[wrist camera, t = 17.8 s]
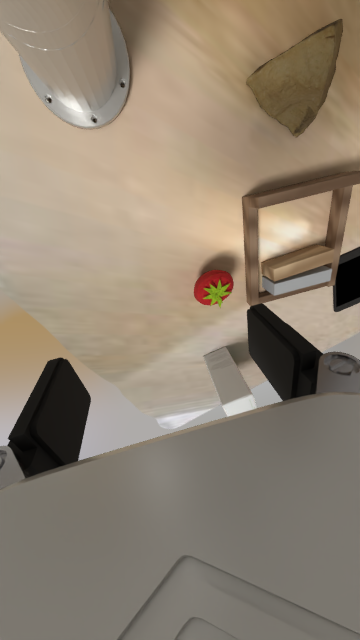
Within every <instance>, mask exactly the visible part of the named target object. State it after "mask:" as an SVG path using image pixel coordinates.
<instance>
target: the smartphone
mask: <svg viewBox="0 0 360 640" xmlns="http://www.w3.org/2000/svg"><path fill="white" fill-rule="evenodd" d="M359 302H360V247H358V248H356V249H354V250H352V251H349V252H347V253H345V254H343V255H340V258H339V263H338V269H337V274H336V280H335V285H333V304H334V311H335V312H339V311H341V310H344V309H346V308H348V307H351V306H353V305H355V304H358V303H359Z"/></svg>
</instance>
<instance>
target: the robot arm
mask: <svg viewBox="0 0 360 640" xmlns="http://www.w3.org/2000/svg"><path fill="white" fill-rule="evenodd" d="M0 32H1V33H2V34H3V35H4V36H5V38H6V39H7V40H8V41H9V42H10V44H11V45H12V46H13V47H14V48H15V50H16V51H17V52H18V53H19V57H20V60H21V63H22V66H23V69H24V72H25V74H26V76H27V78H28V80H29V82H30V84H31V86H32V88H33V89H34V91H35V92H36V94H37V95H38V97H39V98H40V99H41V100H42V102H43V103H44V104H45V105H46V106H47V107H48V108H49V109H50V110H51V111H52V112H53V113H54V114H55V115H56V116H58V117H59V118H60V119H61V120H63V121H65V122H66V123H68V124H70V125H72V126H75V127H78V128H81V129H97V128H101V127H103V126H106V125H108V124H109V123H110V122H112V121H113V120H114V119H115V118H116V117H117V116H118V114H119V113H120V112H121V110H122V108H123V106H124V104H125V102H126V98H127V95H128V90H129V82H130V67H129V56H128V52H127V47H126V43H125V40H124V37H123V34H122V31H121V28H120V26H119V24H118V22H117V20H116V18H115V16H114V14H113V13H112V11H111V10H110V8H109V6H108V0H0ZM121 84H124V85H125V87H124V88H122V87H121ZM49 99H52V103H49ZM94 119H97V123H94V122H93V120H94ZM247 323H248V344H249V353H250V355H251V357H252V358H253V360H254V361H255V362H256V364H257V365H258V367H259V368H260V369H261V371H262V372H263V374H264V375H265V376H266V378H267V379H268V381H269V382H270V383H271V385H272V386H273V388H274V389H275V390H276V392H277V393H278V395H279V396H280V397H281V399H282V400H283V401H282V402H278V403H275V404H271V405H267V406H264V407H260V408H256V409H253V410H249V411H246V412H242V413H239V414H235V415H232V416H229V417H225V418H222V419H218V420H215V421H211V422H208V423H205V424H201V425H197V426H194V427H191V428H187V429H184V430H181V431H177V432H174V433H170V434H167V435H163V436H160V437H157V438H153V439H150V440H147V441H143V442H140V443H137V444H133V445H130V446H126V447H123V448H120V449H117V450H113V451H110V452H107V453H103V454H100V455H97V456H93V457H90V458H87V459H83V460H80V461H78V458H79V453H80V449H81V444H82V439H83V435H84V430H85V425H86V421H87V416H88V411H89V407H90V402H91V398H90V395H89V393H88V391H87V390H86V388H85V387H84V385H83V383H82V382H81V380H80V379H79V377H78V375H77V374H76V372H75V371H74V369H73V367H72V366H71V364H70V363H69V362H68V360H66V359H63V358H57V359H53V360H50V361H48V362H47V364H46V366H45V368H44V370H43V372H42V374H41V376H40V378H39V380H38V382H37V383H36V385H35V387H34V390H33V391H32V393H31V395H30V397H29V399H28V401H27V403H26V405H25V406H24V408H23V410H22V412H21V414H20V416H19V418H18V420H17V422H16V424H15V426H14V428H13V430H12V431H11V433H10V435H9V437H8V439H9V440H10V442H9V444H8V446H0V640H360V360H359V359H357V358H356V357H354V356H352V355H349V354H346V353H342V352H328V353H325V354H323V353H321V352H320V351H319V350H318V349H317V348H315V347H314V346H313V345H312V344H311V343H310V342H308V341H307V340H306V339H305V338H304V337H303V336H301V335H300V334H299V333H298V332H297V331H295V330H294V329H293V328H292V327H291V326H290V325H288V324H287V323H285V322H284V321H282V320H281V319H280V318H279V317H278V316H277V315H275V314H274V313H273V312H272V311H271V310H270V309H268V308H267V307H266V306H265V305H264V304H262V303H260V304H257V305H253V306H251V307H250V309H249V310H247Z"/></svg>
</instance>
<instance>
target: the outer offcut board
mask: <svg viewBox="0 0 360 640" xmlns="http://www.w3.org/2000/svg"><path fill="white" fill-rule="evenodd" d="M331 273H332V269H331V268H328V267H326V266H323V265H322V266H319V267H317V268H314V269H311V270H308V271H305V272H302V273H299V274H296V275H293V276H290V277H287V278H284V279H281V280H278V281H275V282H274V281H273V280H271V279H269V278H268V277H266V276H262V287H263V288H264V289H266V290H267V291H268V292H270V293H271V294H272V295H274V296H275V295H279V294H283V293H286V292H290V291H294V290H298V289H301V288H305V287H309V286H312V285H316V284H320V283H324V282H327V281H330V279H331Z"/></svg>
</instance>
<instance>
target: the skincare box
mask: <svg viewBox="0 0 360 640" xmlns="http://www.w3.org/2000/svg"><path fill="white" fill-rule="evenodd" d="M203 357H204V360H205V363H206V365H207V368H208V371H209V373H210V376H211V379H212V382H213V384H214V387H215V389H216V392H217V395H218V397H219V400H220V402H221V404H222V406H223V409H224V411H225V413H226V415H227V417H229V416H232V415H235V414H239V413H242V412H246V411H249V410H253V409H256V408H257V405H256V402H255V399H254V396H253V394H252V393H251V391H250V389H249V387H248V385H247V384H246V382H245V380H244V378H243V376H242V375H241V373H240V371H239V369H238V367H237V366H236V364H235V362H234V360H233V359H232V357H231V355H230V353H229V351H228V350H227V348H226V347H223V348H221V349H219V350H216V351H214V352H212V353H209V354H207V355H205V356H203Z"/></svg>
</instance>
